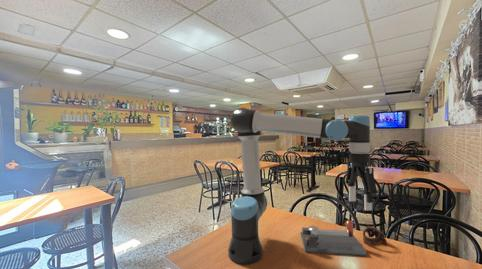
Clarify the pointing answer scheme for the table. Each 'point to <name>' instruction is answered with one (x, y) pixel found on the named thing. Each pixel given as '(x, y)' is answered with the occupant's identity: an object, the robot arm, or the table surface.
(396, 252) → the table surface
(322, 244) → the base board
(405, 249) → the table surface
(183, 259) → the table surface
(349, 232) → the lever
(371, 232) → the pottery mug
